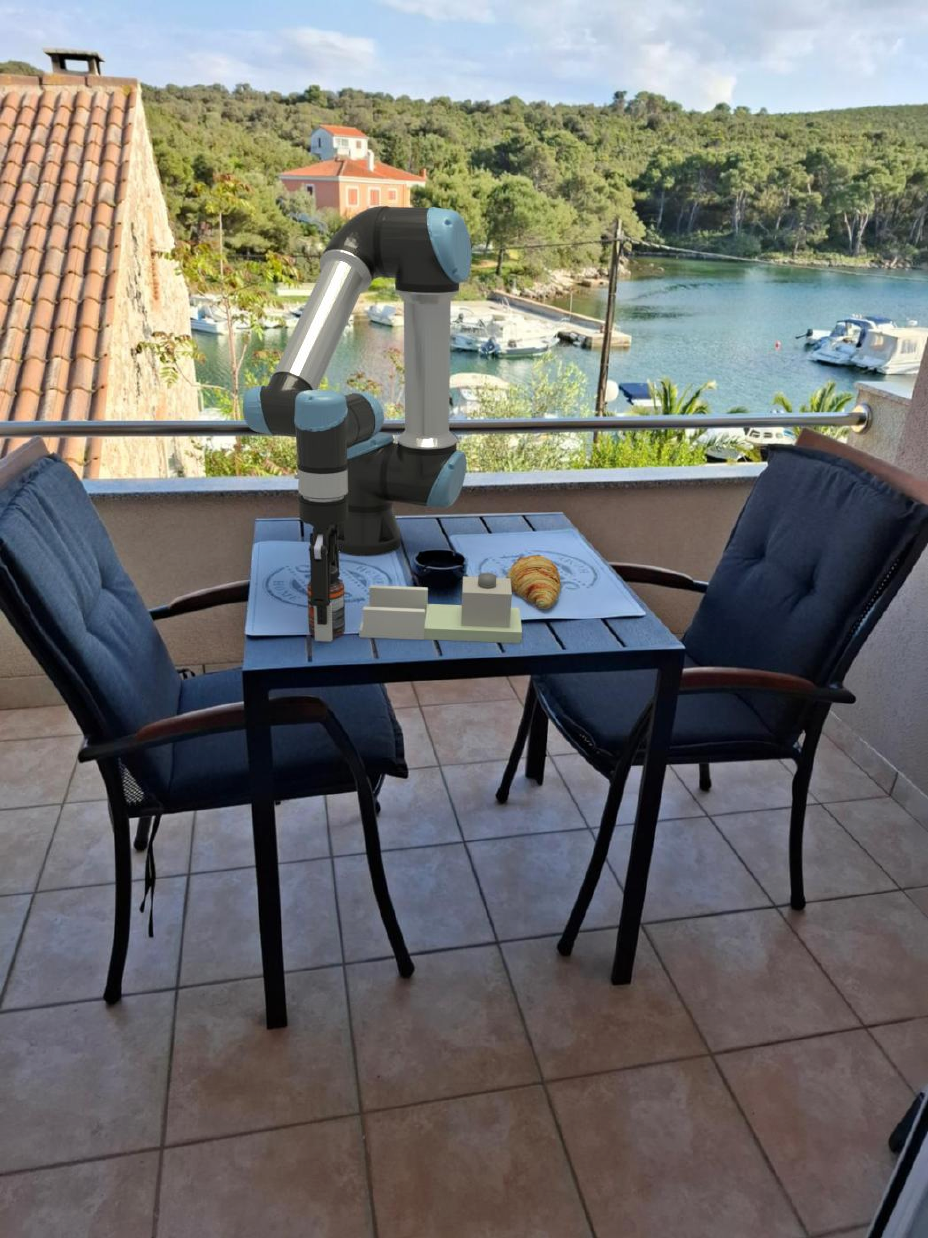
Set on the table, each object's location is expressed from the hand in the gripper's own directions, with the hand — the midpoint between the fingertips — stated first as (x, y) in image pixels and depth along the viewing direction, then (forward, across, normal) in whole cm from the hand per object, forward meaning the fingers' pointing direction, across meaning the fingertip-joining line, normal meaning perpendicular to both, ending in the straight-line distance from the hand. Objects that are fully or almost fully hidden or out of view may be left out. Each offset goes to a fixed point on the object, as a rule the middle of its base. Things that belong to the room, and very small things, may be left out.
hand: (327, 631), depth 137 cm
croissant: (+1, -22, +35) cm, 42 cm away
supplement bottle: (0, 0, 0) cm, 0 cm away
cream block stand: (0, -4, +19) cm, 19 cm away
